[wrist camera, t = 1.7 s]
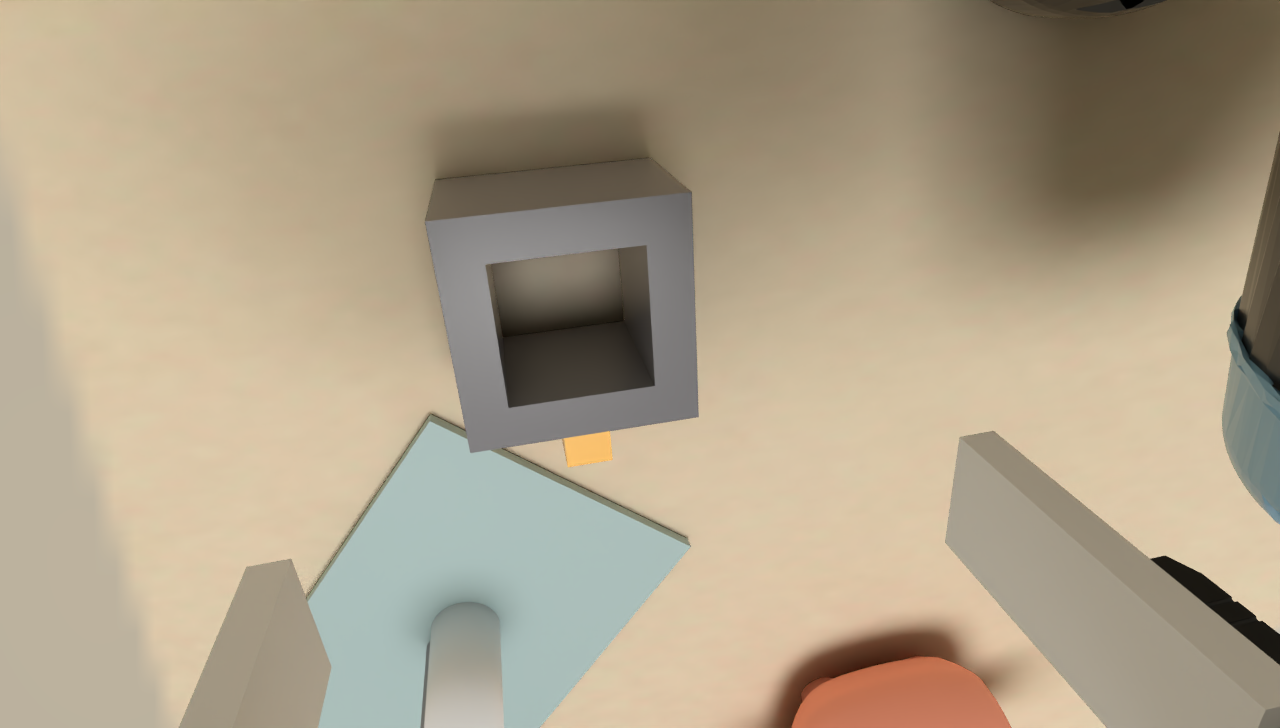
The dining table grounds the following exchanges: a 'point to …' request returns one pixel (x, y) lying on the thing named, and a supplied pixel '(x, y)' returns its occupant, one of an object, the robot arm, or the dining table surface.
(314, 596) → the board
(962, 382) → the dining table surface
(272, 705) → the robot arm
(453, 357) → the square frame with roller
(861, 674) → the teapot
